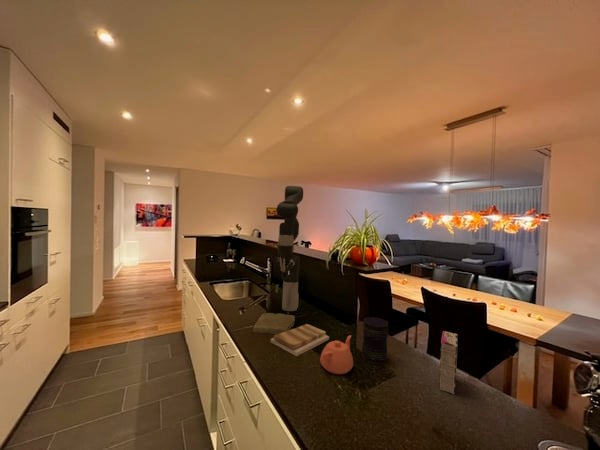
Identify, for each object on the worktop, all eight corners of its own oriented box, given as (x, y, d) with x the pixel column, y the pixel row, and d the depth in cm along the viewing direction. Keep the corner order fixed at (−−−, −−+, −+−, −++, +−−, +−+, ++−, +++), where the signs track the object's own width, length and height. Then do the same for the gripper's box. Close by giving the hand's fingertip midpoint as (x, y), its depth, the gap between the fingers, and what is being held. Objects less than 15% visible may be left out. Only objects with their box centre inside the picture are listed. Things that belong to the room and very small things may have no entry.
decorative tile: (252, 333, 123) (252, 325, 123) (262, 317, 143) (263, 311, 143) (290, 336, 121) (291, 329, 121) (296, 320, 141) (296, 314, 141)
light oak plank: (306, 326, 128) (306, 323, 128) (325, 334, 120) (325, 331, 120) (297, 330, 124) (297, 327, 124) (316, 339, 115) (317, 335, 115)
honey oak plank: (296, 330, 123) (297, 327, 123) (316, 339, 115) (316, 336, 115) (273, 338, 112) (273, 335, 112) (293, 349, 104) (293, 345, 104)
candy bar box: (439, 373, 96) (442, 330, 95) (455, 378, 93) (458, 333, 93) (437, 389, 86) (440, 341, 86) (455, 395, 83) (458, 345, 83)
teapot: (310, 368, 95) (311, 342, 95) (337, 351, 109) (338, 329, 108) (337, 383, 87) (338, 355, 87) (363, 363, 100) (364, 339, 100)
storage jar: (369, 349, 112) (371, 315, 112) (391, 358, 105) (392, 322, 105) (356, 356, 105) (358, 320, 105) (378, 367, 98) (381, 328, 98)
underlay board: (303, 328, 130) (303, 325, 130) (329, 339, 119) (329, 336, 119) (270, 342, 114) (270, 338, 114) (296, 356, 103) (296, 352, 103)
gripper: (300, 245, 124) (299, 280, 125) (282, 242, 133) (280, 275, 134) (290, 246, 119) (288, 283, 119) (271, 242, 127) (269, 277, 128)
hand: (284, 278), depth 127 cm, fingers closed
